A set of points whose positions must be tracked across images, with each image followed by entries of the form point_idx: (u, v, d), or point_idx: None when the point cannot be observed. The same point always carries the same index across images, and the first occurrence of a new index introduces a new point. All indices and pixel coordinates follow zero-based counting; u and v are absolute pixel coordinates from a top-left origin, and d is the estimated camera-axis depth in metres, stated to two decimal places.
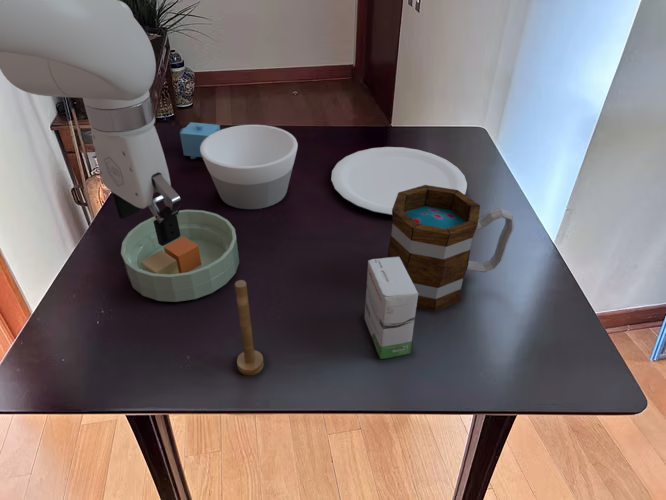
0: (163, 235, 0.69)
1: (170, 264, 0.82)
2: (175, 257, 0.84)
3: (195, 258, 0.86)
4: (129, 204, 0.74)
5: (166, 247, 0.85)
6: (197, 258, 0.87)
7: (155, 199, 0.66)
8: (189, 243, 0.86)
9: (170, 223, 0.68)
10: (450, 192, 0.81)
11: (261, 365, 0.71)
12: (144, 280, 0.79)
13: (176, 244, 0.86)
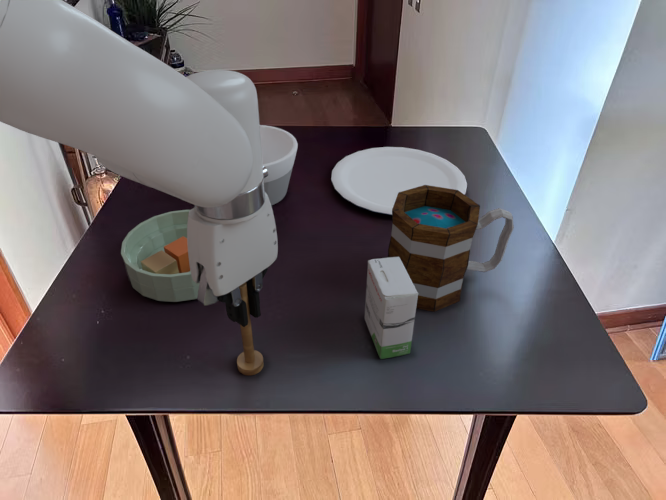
0: None
1: (170, 264, 0.82)
2: (175, 257, 0.84)
3: None
4: None
5: (166, 247, 0.85)
6: None
7: None
8: None
9: (230, 306, 0.63)
10: (450, 192, 0.81)
11: (261, 365, 0.71)
12: (144, 280, 0.79)
13: (176, 244, 0.86)
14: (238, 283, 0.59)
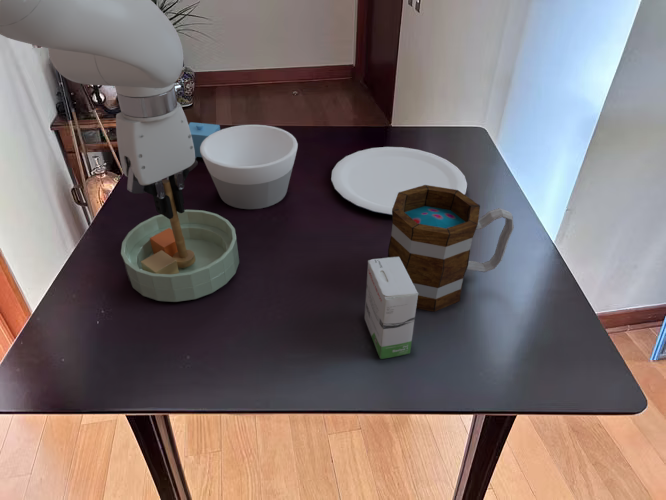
0: None
1: (170, 264, 0.82)
2: (161, 248, 0.86)
3: None
4: None
5: (152, 238, 0.87)
6: None
7: None
8: None
9: (157, 200, 0.79)
10: (450, 192, 0.81)
11: (192, 259, 0.86)
12: (144, 280, 0.79)
13: (162, 235, 0.87)
14: (160, 176, 0.75)
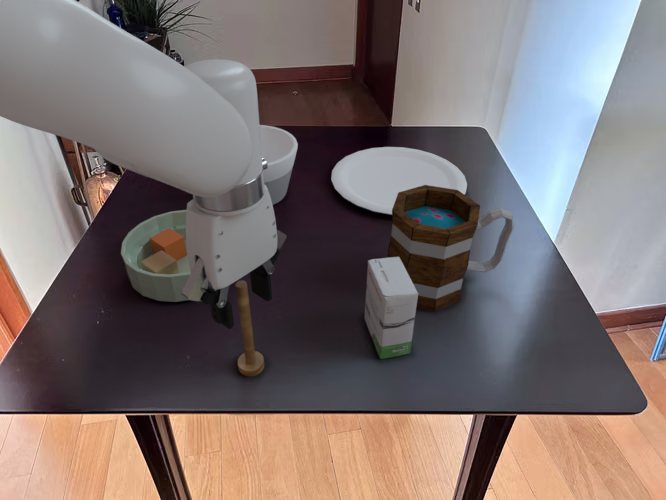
0: None
1: (170, 264, 0.82)
2: (161, 248, 0.86)
3: (181, 249, 0.88)
4: (259, 287, 0.66)
5: (152, 238, 0.87)
6: (183, 249, 0.88)
7: None
8: (175, 234, 0.88)
9: (215, 307, 0.61)
10: (450, 192, 0.81)
11: (262, 366, 0.71)
12: (144, 280, 0.79)
13: (162, 235, 0.87)
14: (237, 276, 0.58)
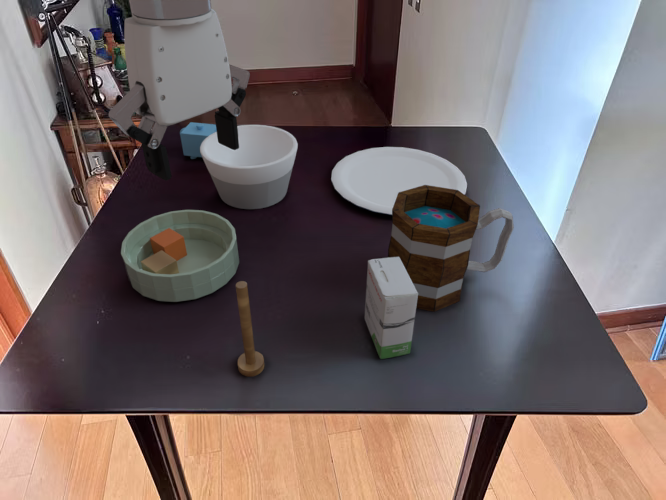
0: None
1: (170, 264, 0.82)
2: (161, 248, 0.86)
3: (181, 249, 0.88)
4: (225, 133, 0.61)
5: (152, 238, 0.87)
6: (183, 249, 0.88)
7: (148, 115, 0.53)
8: (175, 234, 0.88)
9: (148, 152, 0.54)
10: (450, 192, 0.81)
11: (262, 366, 0.71)
12: (144, 280, 0.79)
13: (162, 235, 0.87)
14: (185, 114, 0.53)
